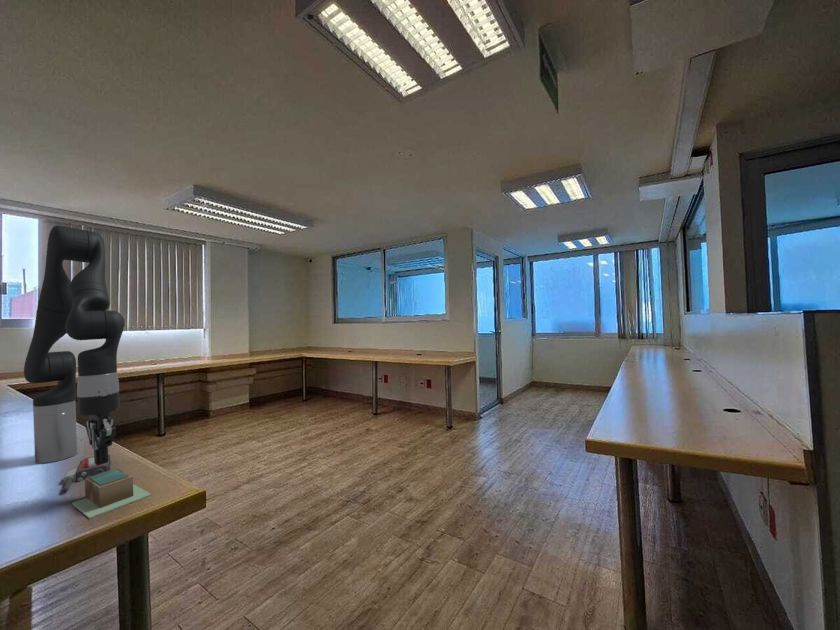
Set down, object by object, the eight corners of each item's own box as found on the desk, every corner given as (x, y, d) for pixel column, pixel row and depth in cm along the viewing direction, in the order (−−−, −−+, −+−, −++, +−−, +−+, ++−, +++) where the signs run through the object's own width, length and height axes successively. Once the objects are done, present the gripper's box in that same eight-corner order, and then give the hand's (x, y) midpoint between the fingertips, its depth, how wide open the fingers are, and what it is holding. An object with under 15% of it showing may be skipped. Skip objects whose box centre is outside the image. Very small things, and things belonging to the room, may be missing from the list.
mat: (72, 504, 80) (72, 503, 80) (131, 483, 90) (131, 482, 90) (89, 518, 74) (89, 517, 74) (151, 495, 83) (151, 494, 83)
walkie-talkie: (70, 470, 100) (59, 497, 85) (70, 455, 100) (58, 478, 85) (111, 461, 106) (107, 484, 90) (111, 447, 106) (107, 467, 90)
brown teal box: (84, 477, 83) (99, 487, 77) (116, 467, 88) (132, 476, 83) (85, 497, 83) (100, 508, 77) (117, 486, 88) (133, 495, 83)
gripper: (69, 393, 86) (72, 464, 86) (87, 398, 79) (90, 475, 78) (108, 387, 92) (111, 453, 92) (128, 391, 85) (131, 462, 85)
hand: (101, 463), depth 85 cm, fingers closed
